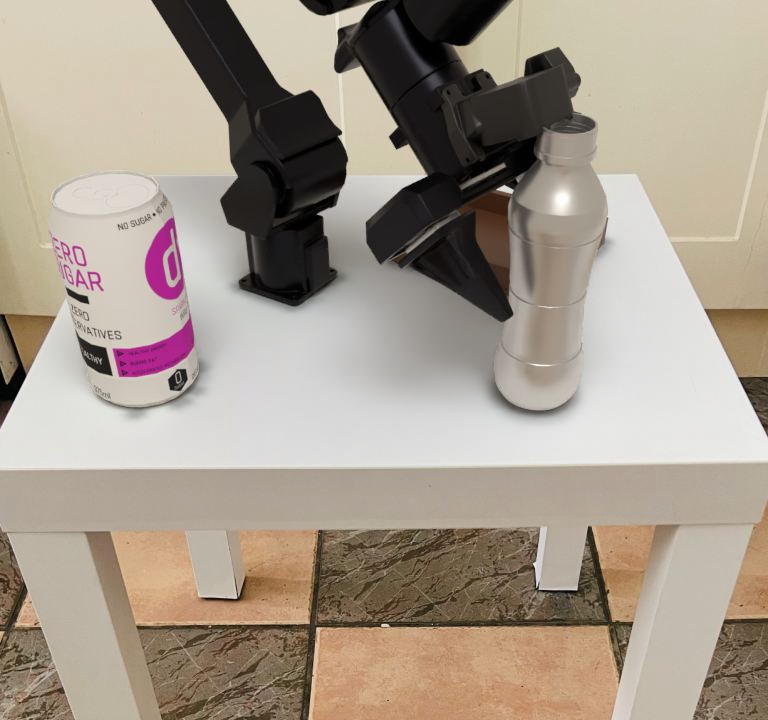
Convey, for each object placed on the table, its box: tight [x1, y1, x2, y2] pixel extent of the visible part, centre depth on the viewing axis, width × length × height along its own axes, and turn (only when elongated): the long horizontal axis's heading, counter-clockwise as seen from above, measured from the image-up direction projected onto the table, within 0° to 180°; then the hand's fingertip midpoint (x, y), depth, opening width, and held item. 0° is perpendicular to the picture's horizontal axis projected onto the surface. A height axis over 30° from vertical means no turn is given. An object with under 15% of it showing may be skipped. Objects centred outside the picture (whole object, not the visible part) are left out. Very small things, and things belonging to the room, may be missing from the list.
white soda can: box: [46, 169, 200, 408], centre depth 66 cm, size 8×8×15 cm
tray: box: [391, 189, 609, 296], centre depth 85 cm, size 16×14×2 cm
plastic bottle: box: [493, 113, 609, 411], centre depth 62 cm, size 6×7×20 cm
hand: (548, 292), depth 63 cm, fingers open, 9 cm apart
